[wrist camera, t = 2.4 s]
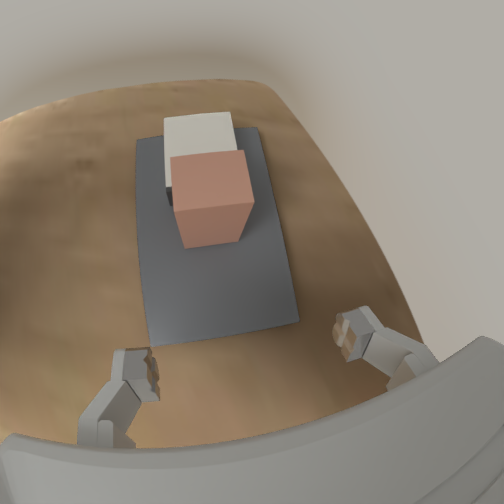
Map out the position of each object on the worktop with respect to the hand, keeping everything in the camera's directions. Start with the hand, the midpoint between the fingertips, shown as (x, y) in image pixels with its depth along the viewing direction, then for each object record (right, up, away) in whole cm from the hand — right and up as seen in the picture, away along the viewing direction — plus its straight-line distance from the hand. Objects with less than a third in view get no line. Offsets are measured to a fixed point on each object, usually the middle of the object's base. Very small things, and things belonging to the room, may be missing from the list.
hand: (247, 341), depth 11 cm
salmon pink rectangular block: (-4, +6, +14) cm, 16 cm away
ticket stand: (-4, +6, +16) cm, 18 cm away
